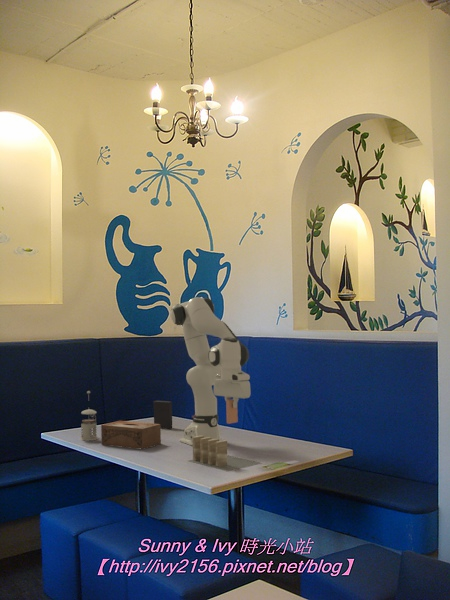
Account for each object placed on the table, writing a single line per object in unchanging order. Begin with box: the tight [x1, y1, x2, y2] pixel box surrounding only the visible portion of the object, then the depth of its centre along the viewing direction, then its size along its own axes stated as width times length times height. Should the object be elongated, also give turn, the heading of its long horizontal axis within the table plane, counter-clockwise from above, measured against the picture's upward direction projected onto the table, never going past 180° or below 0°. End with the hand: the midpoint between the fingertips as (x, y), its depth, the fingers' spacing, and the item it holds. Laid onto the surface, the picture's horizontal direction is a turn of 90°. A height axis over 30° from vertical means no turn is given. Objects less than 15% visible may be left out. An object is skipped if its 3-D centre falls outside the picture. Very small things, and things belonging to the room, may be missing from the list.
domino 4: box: [216, 439, 228, 467], centre depth 264 cm, size 2×5×10 cm, turn 132°
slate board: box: [188, 454, 262, 472], centre depth 271 cm, size 26×20×1 cm
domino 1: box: [192, 436, 204, 461], centre depth 276 cm, size 2×5×10 cm, turn 132°
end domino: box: [225, 398, 239, 424], centre depth 275 cm, size 2×5×10 cm, turn 132°
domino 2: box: [200, 437, 212, 463], centre depth 272 cm, size 2×5×10 cm, turn 132°
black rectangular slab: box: [152, 400, 173, 430], centre depth 362 cm, size 11×4×15 cm, turn 58°
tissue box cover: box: [100, 420, 162, 450], centre depth 316 cm, size 26×14×10 cm, turn 60°
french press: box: [79, 390, 99, 442], centre depth 333 cm, size 10×12×25 cm
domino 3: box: [208, 439, 219, 465], centre depth 268 cm, size 2×5×10 cm, turn 132°
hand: (231, 407), depth 275 cm, fingers closed on end domino, 2 cm apart
